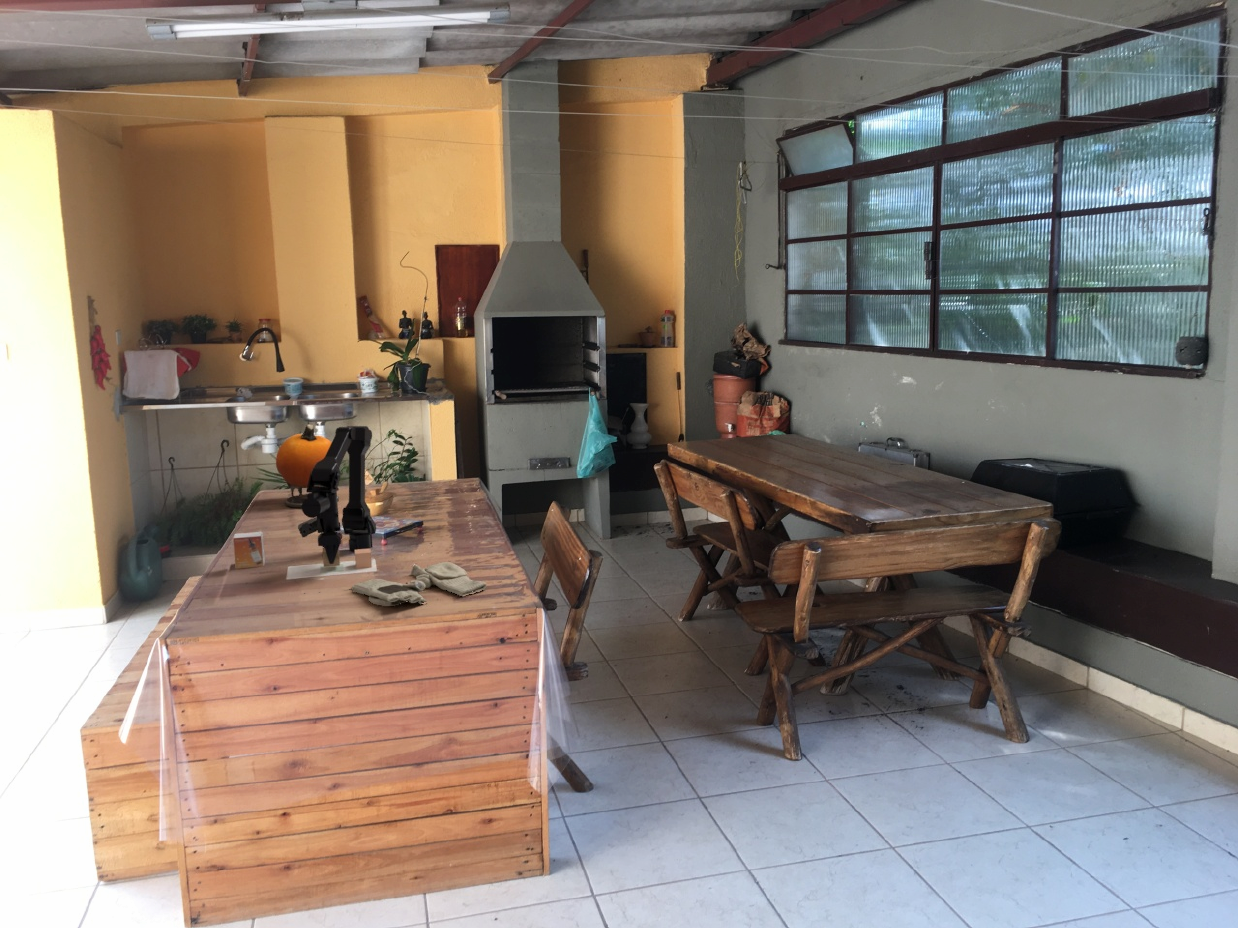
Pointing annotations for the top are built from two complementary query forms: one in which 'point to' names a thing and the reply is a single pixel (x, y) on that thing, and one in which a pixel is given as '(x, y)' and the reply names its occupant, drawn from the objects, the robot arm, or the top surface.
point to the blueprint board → (326, 570)
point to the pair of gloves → (419, 585)
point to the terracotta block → (363, 558)
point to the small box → (248, 550)
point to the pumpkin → (300, 461)
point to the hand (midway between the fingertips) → (331, 561)
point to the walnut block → (326, 561)
